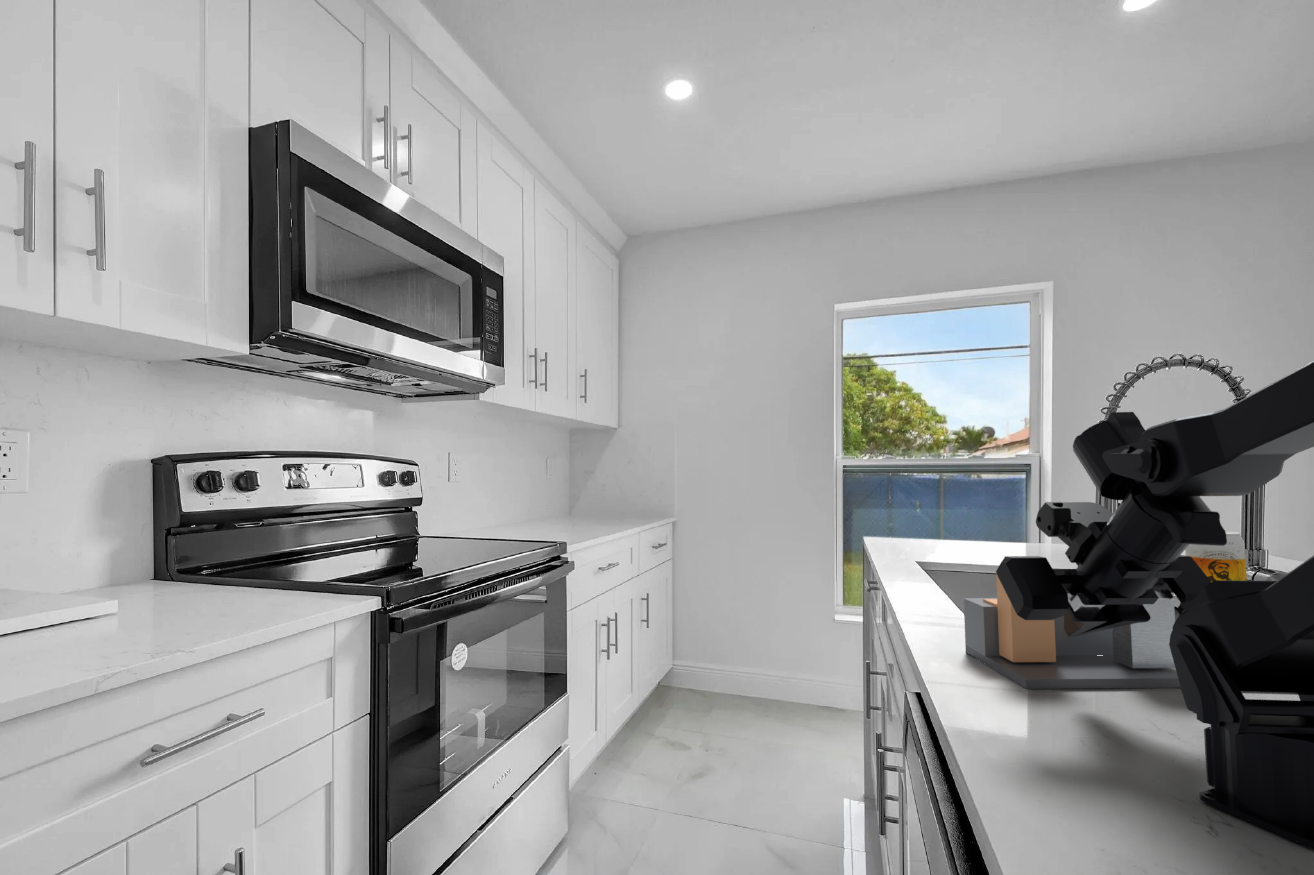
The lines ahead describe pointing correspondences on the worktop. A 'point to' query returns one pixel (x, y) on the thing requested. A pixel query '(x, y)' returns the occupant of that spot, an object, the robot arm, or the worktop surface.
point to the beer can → (1221, 558)
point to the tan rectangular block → (1023, 634)
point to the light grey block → (1147, 638)
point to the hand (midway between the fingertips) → (1069, 632)
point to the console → (1058, 657)
